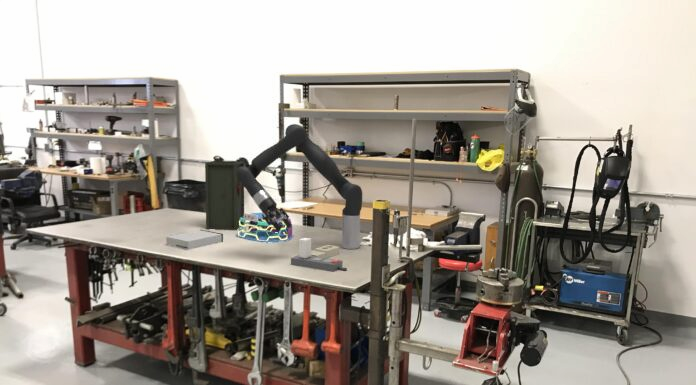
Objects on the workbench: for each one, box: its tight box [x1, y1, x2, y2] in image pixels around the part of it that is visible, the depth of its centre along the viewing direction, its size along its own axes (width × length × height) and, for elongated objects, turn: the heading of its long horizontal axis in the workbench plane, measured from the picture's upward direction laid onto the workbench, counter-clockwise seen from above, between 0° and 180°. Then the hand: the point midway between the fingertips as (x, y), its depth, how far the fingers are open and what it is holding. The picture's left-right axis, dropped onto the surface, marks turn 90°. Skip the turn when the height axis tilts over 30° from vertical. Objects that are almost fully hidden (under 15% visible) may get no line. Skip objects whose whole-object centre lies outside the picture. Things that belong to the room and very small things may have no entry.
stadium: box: [235, 212, 294, 244], centre depth 279 cm, size 35×24×14 cm
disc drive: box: [165, 229, 224, 251], centre depth 260 cm, size 18×22×5 cm
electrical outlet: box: [311, 244, 340, 259], centre depth 238 cm, size 7×4×18 cm
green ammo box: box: [204, 160, 245, 231], centre depth 303 cm, size 18×18×40 cm
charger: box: [298, 237, 312, 259], centre depth 223 cm, size 5×4×12 cm
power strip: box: [290, 254, 348, 273], centre depth 220 cm, size 8×26×4 cm, turn 63°
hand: (285, 228), depth 227 cm, fingers open, 8 cm apart
